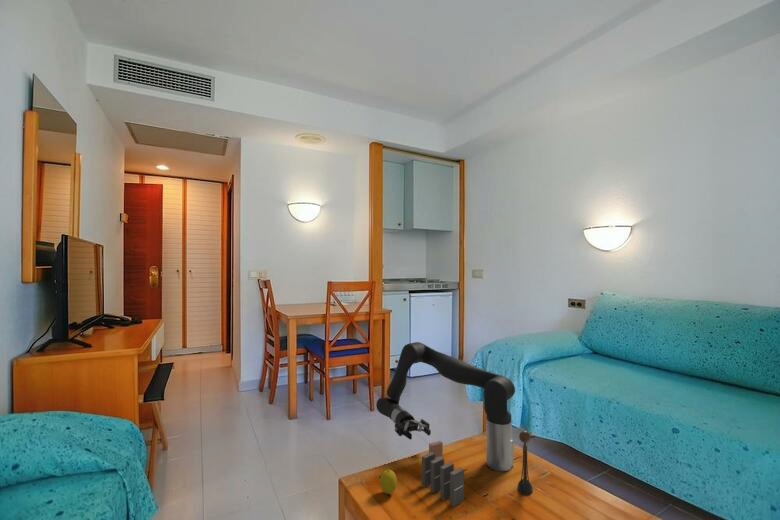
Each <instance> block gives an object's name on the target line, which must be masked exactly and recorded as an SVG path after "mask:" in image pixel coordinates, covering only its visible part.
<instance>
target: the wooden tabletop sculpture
mask: <svg viewBox="0 0 780 520" xmlns="http://www.w3.org/2000/svg"><path fill="white" fill-rule="evenodd" d="M518 438H519V440H520V442H521V443H523V444H522V470H521V477H520V480H519V481H518V483H517V490H518V491H519V492H520V493H521V494H524V495H532V494H533V492H534V491H533V486H532V483H531V482H530V478H529V469H528V468H529V467H528V444H527V443H529V442H530V440H531V439H535V438H536V435H535V434H530V432H529V431H528V430H522V431H520V433H519V436H518Z"/></svg>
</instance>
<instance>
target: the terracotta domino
mask: <svg viewBox="0 0 780 520" xmlns="http://www.w3.org/2000/svg"><path fill="white" fill-rule="evenodd" d="M443 447H444V445H443V442H442V441H441V440H439V441H433V442H430V443H428V453H430V452H433V453H435V459H437V458H439V457H442V458H444V457H443V455H444V454H443V453H444V451H443V450H444V448H443Z"/></svg>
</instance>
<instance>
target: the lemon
mask: <svg viewBox="0 0 780 520" xmlns="http://www.w3.org/2000/svg"><path fill="white" fill-rule="evenodd" d="M379 481H380V484H379V485H380V489H381V490H382V491H383V492H384V494H385V493H386V494H387V495H390V494H392V493H393V492H394V491H395V490H396V489H397V483H398V480H397V476H396V473H395V472H394V471H393V470H391V469H386V470H384V471H383V472H382V474H381V476H380V480H379Z"/></svg>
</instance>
